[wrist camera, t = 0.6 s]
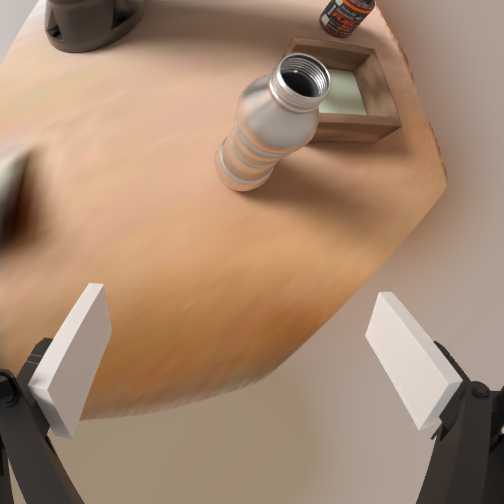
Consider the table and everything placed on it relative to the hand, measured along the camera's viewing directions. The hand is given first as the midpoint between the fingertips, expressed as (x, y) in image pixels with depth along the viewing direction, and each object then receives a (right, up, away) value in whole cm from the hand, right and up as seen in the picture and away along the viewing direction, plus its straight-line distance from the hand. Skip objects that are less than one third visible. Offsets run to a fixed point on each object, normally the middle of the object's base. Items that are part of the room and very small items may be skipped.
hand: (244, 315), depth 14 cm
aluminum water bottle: (-1, +13, +22) cm, 26 cm away
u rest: (+11, +24, +26) cm, 36 cm away
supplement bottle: (+14, +40, +27) cm, 51 cm away
